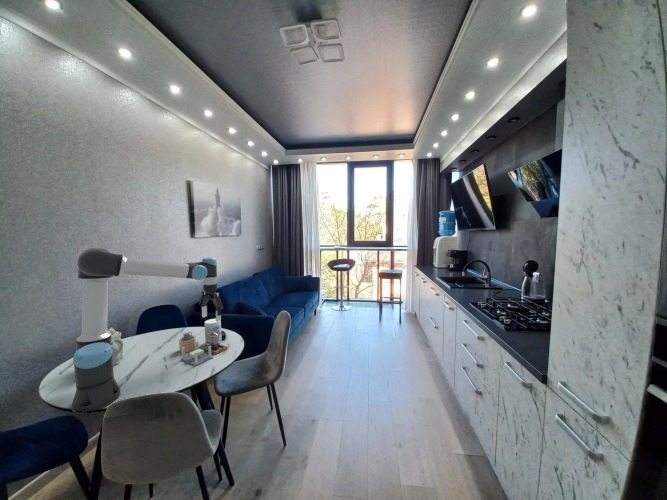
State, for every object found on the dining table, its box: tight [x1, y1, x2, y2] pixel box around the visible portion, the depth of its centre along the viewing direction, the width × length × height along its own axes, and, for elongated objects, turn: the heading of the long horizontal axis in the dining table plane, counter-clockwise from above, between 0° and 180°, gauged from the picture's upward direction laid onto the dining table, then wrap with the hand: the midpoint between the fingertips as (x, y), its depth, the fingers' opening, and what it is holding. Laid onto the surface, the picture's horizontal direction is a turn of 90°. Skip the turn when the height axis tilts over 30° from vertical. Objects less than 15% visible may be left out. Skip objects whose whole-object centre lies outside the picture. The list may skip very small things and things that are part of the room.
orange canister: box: [178, 331, 197, 354], centre depth 153 cm, size 8×8×10 cm
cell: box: [210, 332, 220, 350], centre depth 152 cm, size 5×5×10 cm
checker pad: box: [188, 348, 205, 357], centre depth 142 cm, size 6×4×2 cm, turn 150°
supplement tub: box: [204, 318, 222, 346], centre depth 162 cm, size 10×10×15 cm
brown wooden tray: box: [202, 343, 228, 356], centre depth 153 cm, size 8×12×2 cm, turn 60°
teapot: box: [107, 327, 124, 367], centre depth 137 cm, size 16×15×19 cm
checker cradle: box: [180, 341, 214, 367], centre depth 142 cm, size 10×14×7 cm
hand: (211, 318), depth 151 cm, fingers open, 13 cm apart
